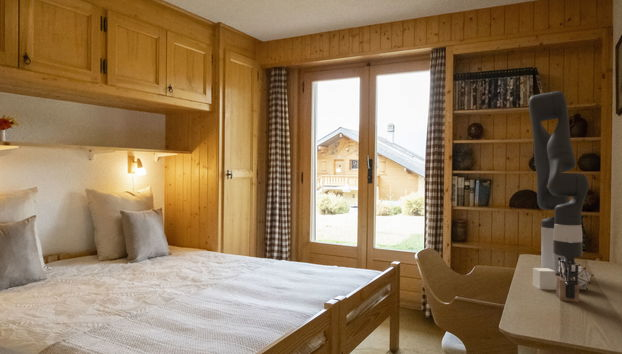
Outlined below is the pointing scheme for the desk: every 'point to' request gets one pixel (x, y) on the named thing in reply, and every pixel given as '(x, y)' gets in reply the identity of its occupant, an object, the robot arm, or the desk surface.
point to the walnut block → (562, 290)
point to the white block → (544, 278)
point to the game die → (583, 277)
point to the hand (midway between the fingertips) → (567, 295)
